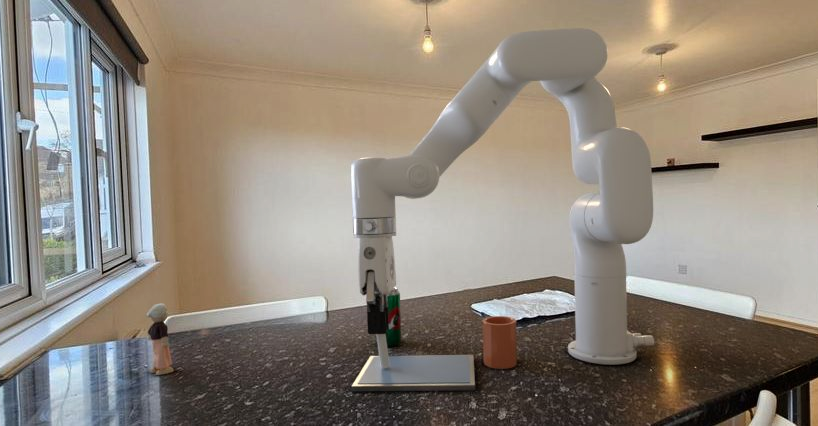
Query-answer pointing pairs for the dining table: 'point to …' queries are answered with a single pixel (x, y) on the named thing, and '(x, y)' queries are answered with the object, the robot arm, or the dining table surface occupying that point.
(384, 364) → the stylus
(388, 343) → the soda can
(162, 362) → the grandmother figurine
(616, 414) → the dining table surface
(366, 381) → the tablet
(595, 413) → the dining table surface
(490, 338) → the pen cup
